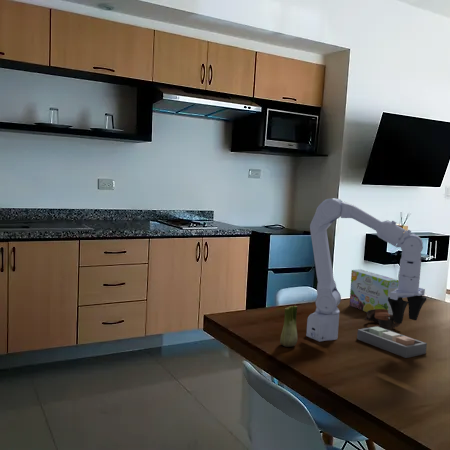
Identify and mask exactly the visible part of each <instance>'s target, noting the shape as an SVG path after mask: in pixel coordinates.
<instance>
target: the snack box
mask: <svg viewBox="0 0 450 450" xmlns="http://www.w3.org/2000/svg"><path fill="white" fill-rule="evenodd" d="M350 277H351V278H350V289H349V290H350V293H349V306H350V307H353V308H355V309H357V308H358V310H361V311H363V312H365V313H366V312H367V311H369V310H374V309H386V310H388V313H389V314H391V315H393V313H392V309H391V306H390V304H389V302H388V297H390V292H393V291H395V290H396V289H398V281H399V279H397V278H396V279H395V278H393V277H390V276H389V277H388V276H385V275H383V274H382V275H381V274H378V273H375V272H372V271H368V270H364V269H361V268H360V269H351V276H350ZM388 318H389V320H390V317H388Z"/></svg>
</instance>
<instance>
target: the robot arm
mask: <svg viewBox="0 0 450 450" xmlns="http://www.w3.org/2000/svg"><path fill="white" fill-rule="evenodd" d="M340 218H341V219H353V220H355V221H356V222H359V223H361V224H363V225H364V226H367V227H368V228H370V229H371V230H374V231H375V232H376V236H377V237H378V239H381V240H383V241H384V242H386V243H387V244H389V245H391V246H393V247H395V248H400V249H401V257H400V260H399V272H398V289H396V290H395V291H393V292H390V297H388V302H389V304H390V306H391V309H392V313H393V318H394V321H393V322H394V324H395V323H399V324H400V325H402V323H403V320H404V314H405V310H406V308H407V306H408V319H409V320H413V321H417V319H418V318H419V315H420V312H421V309H422V308H423V306H424V303H425V302H427V296H425V293H426V288H423V287H420V280H421V270H422V269H421V268H422V260H421V259H422V251H423V249H424V246H423V245H424V244H423V239H422V238H421V237H420V236H419V235H417V234H416V233H412V230H410V229H407V230H406V229H405V228H403V227H401V226H400V225H397V221H395V220H391V221H390V220H387V219H386V220H384V221H383V220H382V221H381V220H380V219H378V218H376V217H375V216H373V215H371V214H369V213H367V212H366V211H364V210H363V209H362V208H359V207H358V206H356V205H354V204H352V203H349V202H347V201H343V200H341V199H339V198H337V197H336V198H335V197H333V198H326V199H324V200H323V201H322V202H320V203H319V205H318V206H317V207H316V210H315V213H314V215H313V217H312V220H311V222H310V224H309V229H310V238H311V244H312V251H313V258H314V259H313V260H314V265H315V272H316V278H317V280H316V281H317V284H316V285H317V286H316V293H317V295H316V298H315V306H316V308H315V311H314V312H313V313H310V314H309V315H308V317H307V321H306V334H305V335H306V337H308V338H309V339H313V340H314V341H317V342H324V341H334V340H338V337H339V323H340V309H339V308H338V306H339V305H340V303H341V300H342V297H341V296H342V295H341V293H340V292H339V290H338V288H337V283H336V281H335V280H334V278H335V277H334V272H333V264H332V258H331V252H330V244H329V239H328V231H327V230H328V228H330V227H331V225H332V224H333V223H334V222H335V221H337V220H339V219H340ZM405 298H406V299H407V301H406V300H404V299H405Z"/></svg>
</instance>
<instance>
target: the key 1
mask: <svg viewBox="0 0 450 450" xmlns="http://www.w3.org/2000/svg"><path fill="white" fill-rule="evenodd" d="M371 327H372V328H370V327H368V328H369V333H372V334H375V335H377V336H380V337H382V333H383V332H386V331H387V330H386V329H383V328H380V327H373V326H371Z"/></svg>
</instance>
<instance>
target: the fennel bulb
mask: <svg viewBox="0 0 450 450" xmlns="http://www.w3.org/2000/svg"><path fill="white" fill-rule="evenodd" d="M297 313H298V306H297V305H294V306H293V305H291V306H288V307H285V308H284V320H283V327H282V330H281V334H280V340H279V343H280V345H282V346H284V347H285V348H286V347H287V348H289V347H295V346H296V345H297V343H298V330H297V316H298V315H297Z"/></svg>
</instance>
